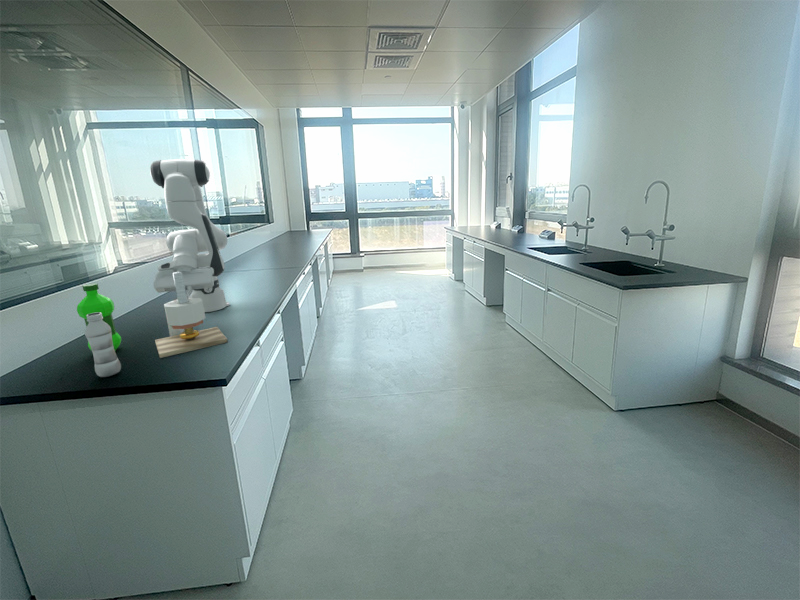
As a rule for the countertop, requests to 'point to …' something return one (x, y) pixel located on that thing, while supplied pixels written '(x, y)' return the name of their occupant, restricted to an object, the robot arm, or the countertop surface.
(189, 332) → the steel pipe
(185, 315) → the sleeve
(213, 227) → the robot arm
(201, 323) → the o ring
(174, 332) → the ink box
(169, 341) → the oak base board
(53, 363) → the countertop surface
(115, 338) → the plastic bottle
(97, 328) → the plastic bottle
